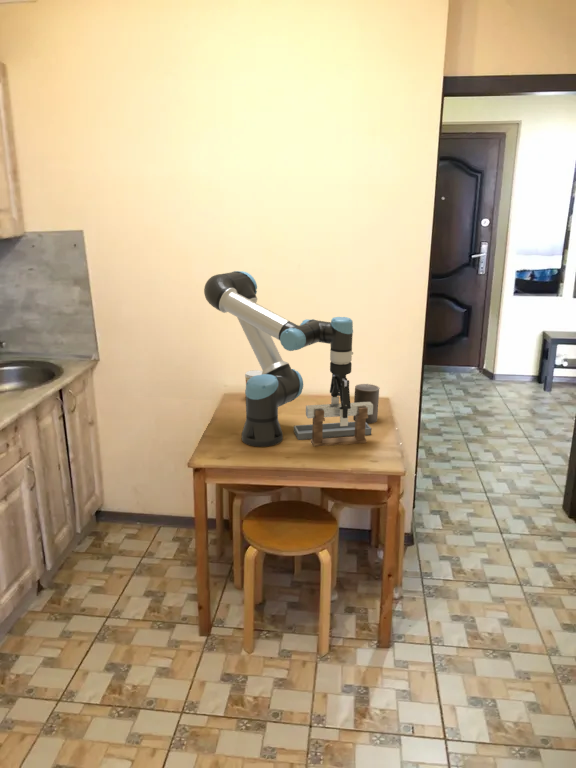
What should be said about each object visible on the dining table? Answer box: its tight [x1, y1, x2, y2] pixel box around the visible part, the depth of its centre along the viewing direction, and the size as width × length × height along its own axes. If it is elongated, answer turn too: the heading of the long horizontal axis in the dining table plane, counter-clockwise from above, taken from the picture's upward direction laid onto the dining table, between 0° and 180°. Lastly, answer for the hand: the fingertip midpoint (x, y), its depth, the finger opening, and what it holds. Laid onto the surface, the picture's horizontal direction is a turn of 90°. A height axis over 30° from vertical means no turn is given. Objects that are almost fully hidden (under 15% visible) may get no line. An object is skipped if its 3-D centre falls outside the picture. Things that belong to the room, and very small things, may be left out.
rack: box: [310, 407, 368, 447], centre depth 222 cm, size 20×7×14 cm, turn 101°
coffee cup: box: [244, 369, 263, 384], centre depth 269 cm, size 9×9×12 cm
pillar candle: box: [352, 383, 380, 425], centre depth 245 cm, size 10×10×15 cm
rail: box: [305, 402, 373, 419], centre depth 221 cm, size 24×4×4 cm, turn 101°
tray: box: [293, 421, 372, 441], centre depth 233 cm, size 28×8×2 cm, turn 101°
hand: (339, 419), depth 222 cm, fingers open, 12 cm apart
